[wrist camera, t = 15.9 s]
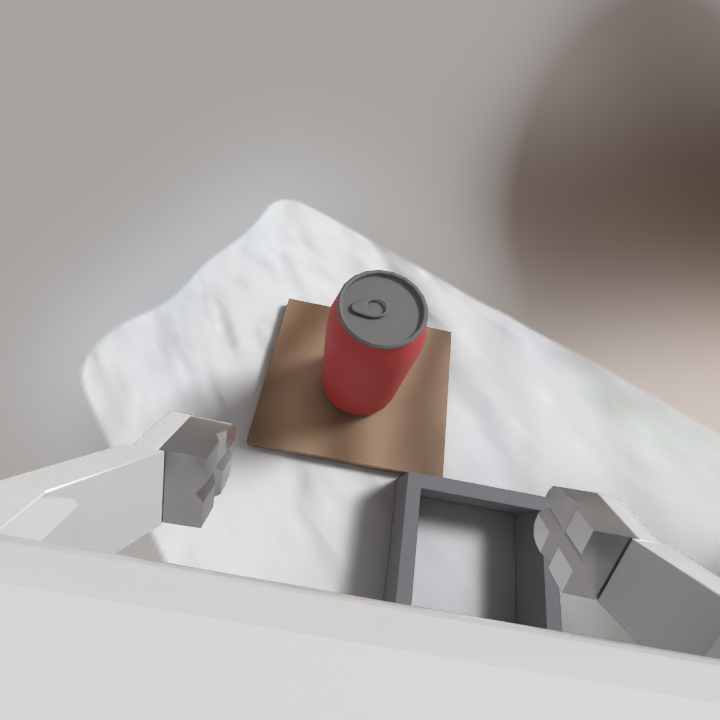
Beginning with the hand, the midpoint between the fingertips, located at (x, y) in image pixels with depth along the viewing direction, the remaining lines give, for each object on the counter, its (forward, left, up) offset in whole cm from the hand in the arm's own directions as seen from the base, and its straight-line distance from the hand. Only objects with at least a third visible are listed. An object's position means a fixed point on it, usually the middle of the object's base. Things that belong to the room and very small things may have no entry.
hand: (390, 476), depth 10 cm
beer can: (0, -11, -21) cm, 24 cm away
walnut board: (0, -11, -22) cm, 25 cm away
